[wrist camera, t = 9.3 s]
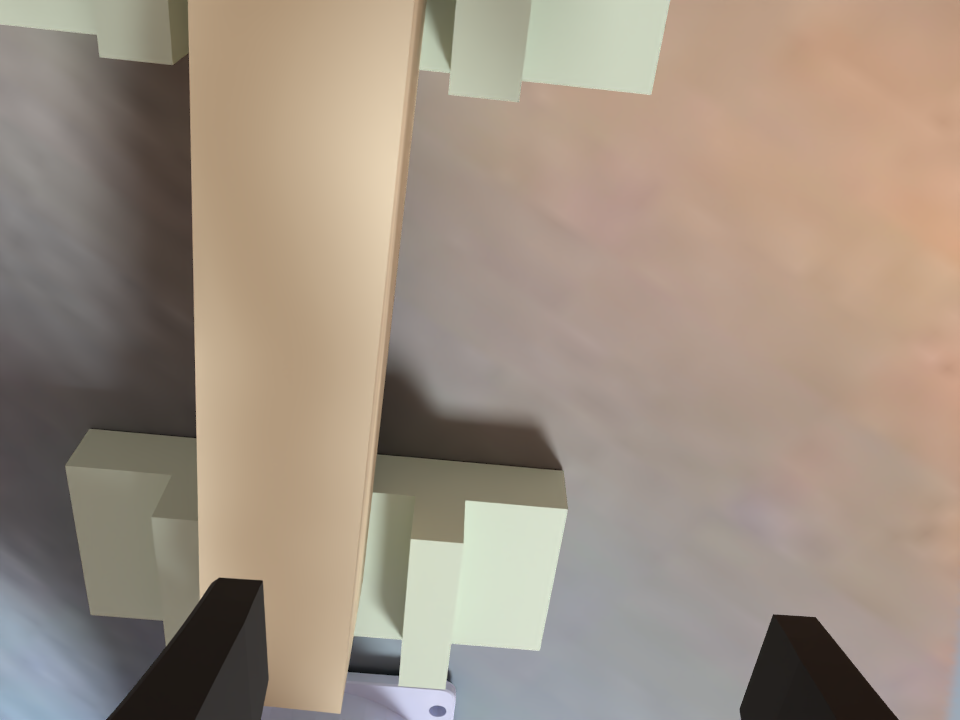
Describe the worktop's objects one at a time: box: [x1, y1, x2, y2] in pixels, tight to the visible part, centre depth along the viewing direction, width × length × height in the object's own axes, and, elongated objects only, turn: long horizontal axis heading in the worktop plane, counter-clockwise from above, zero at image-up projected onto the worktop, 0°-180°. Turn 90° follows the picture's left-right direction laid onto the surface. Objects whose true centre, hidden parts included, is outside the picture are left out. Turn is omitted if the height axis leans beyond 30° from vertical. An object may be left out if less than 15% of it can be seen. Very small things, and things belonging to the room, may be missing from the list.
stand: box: [0, 0, 670, 690], centre depth 19 cm, size 20×12×3 cm, turn 174°
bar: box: [188, 0, 427, 714], centre depth 17 cm, size 3×16×4 cm, turn 172°
